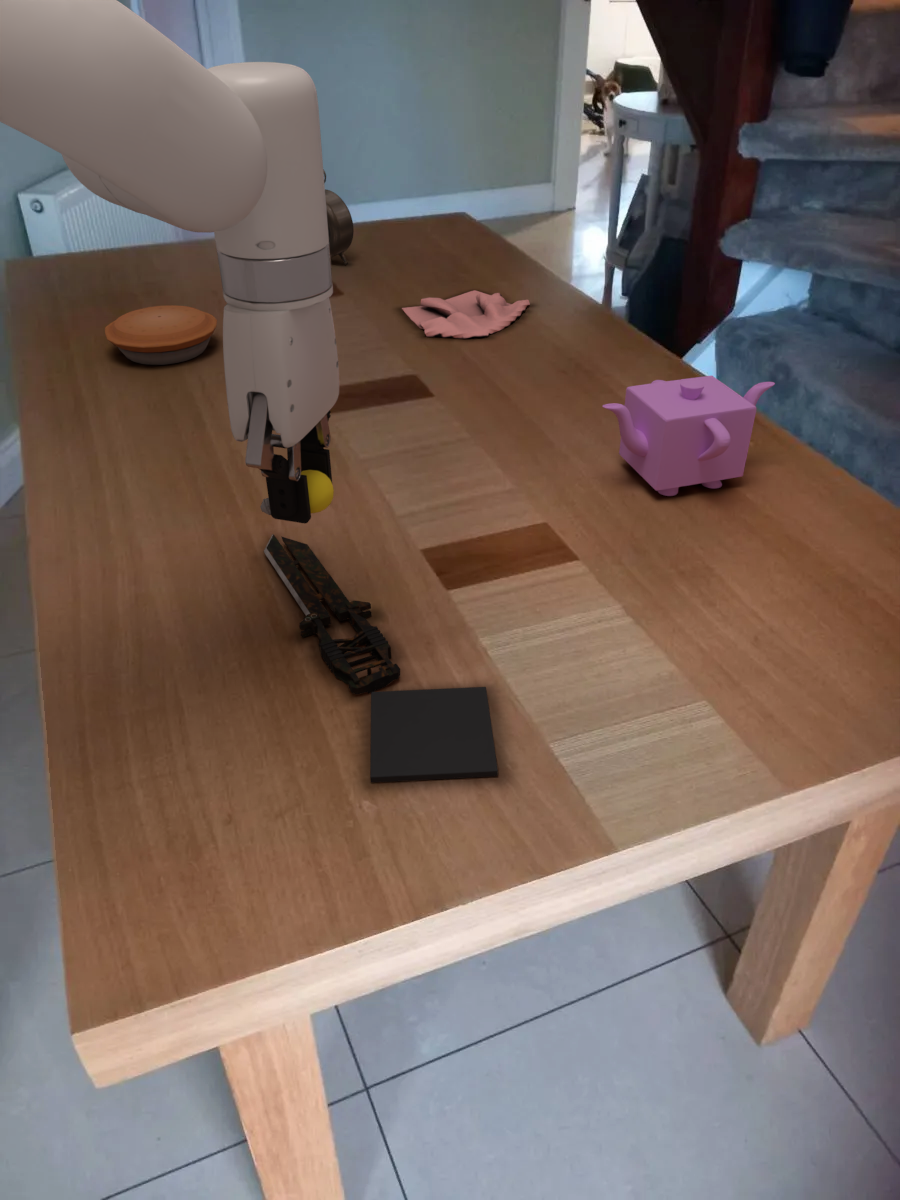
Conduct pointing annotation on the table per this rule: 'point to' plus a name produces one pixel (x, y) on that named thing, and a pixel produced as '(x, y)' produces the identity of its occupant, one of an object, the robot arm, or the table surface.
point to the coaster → (431, 735)
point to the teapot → (686, 431)
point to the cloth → (465, 315)
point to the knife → (320, 618)
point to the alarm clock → (338, 224)
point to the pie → (162, 334)
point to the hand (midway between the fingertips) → (302, 503)
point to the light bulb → (312, 492)
